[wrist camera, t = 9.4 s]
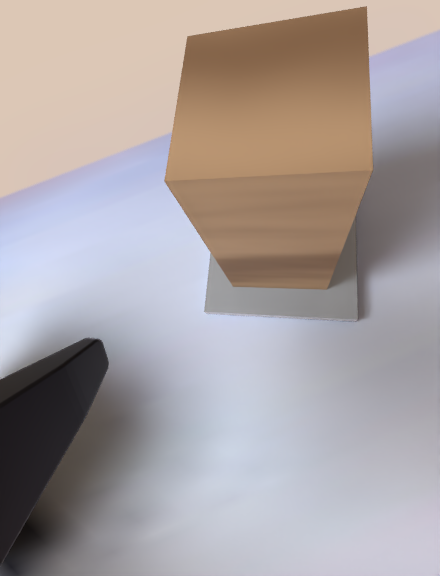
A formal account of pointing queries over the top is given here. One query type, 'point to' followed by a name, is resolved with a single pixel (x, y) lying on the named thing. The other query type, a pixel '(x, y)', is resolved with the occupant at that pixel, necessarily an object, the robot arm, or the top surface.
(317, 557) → the top surface
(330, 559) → the top surface
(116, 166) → the top surface
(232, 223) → the walnut block
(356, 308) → the slate tile
